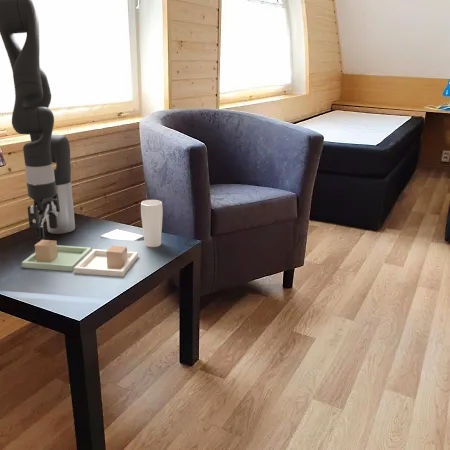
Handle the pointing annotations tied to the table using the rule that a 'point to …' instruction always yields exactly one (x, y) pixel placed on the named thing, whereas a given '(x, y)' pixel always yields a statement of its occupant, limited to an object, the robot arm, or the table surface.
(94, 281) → the table surface
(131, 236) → the external hard drive
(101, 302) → the table surface
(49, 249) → the tan boxy piece
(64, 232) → the robot arm
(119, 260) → the tan block
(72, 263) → the tray
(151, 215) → the drinking glass
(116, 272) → the tray
